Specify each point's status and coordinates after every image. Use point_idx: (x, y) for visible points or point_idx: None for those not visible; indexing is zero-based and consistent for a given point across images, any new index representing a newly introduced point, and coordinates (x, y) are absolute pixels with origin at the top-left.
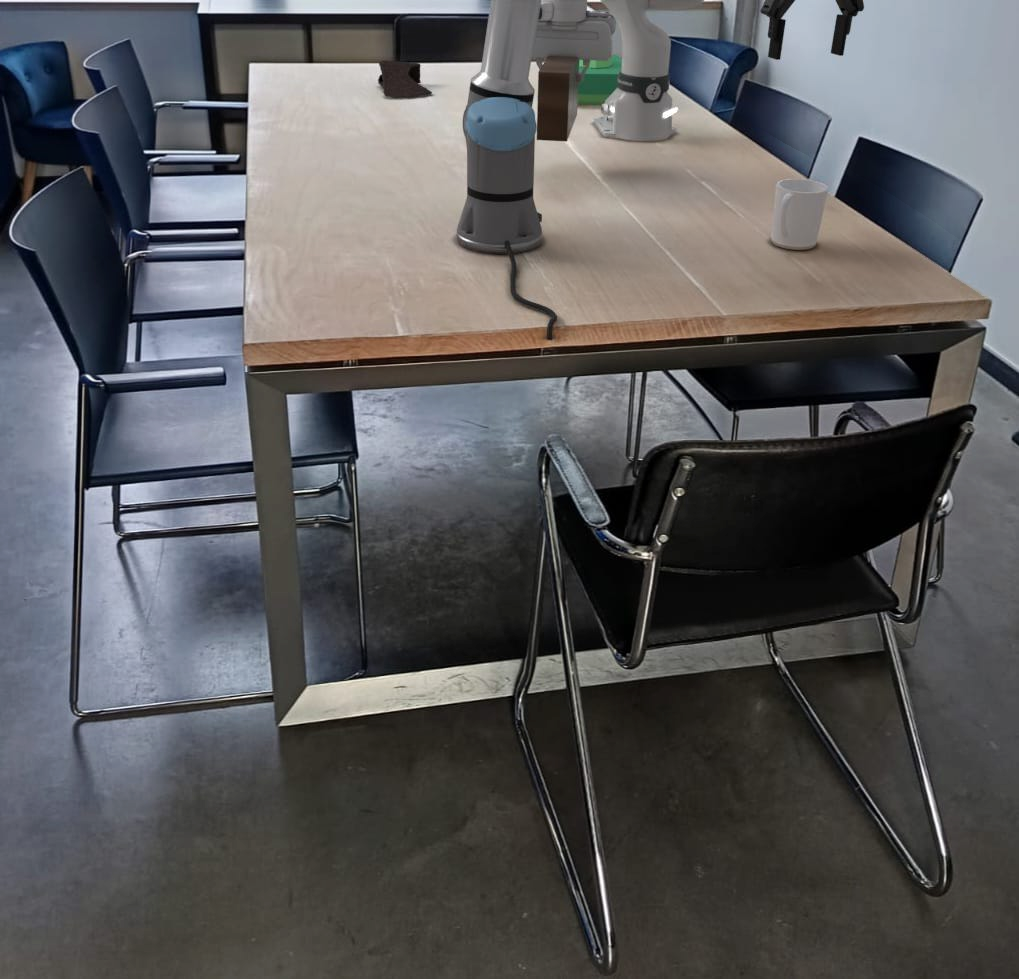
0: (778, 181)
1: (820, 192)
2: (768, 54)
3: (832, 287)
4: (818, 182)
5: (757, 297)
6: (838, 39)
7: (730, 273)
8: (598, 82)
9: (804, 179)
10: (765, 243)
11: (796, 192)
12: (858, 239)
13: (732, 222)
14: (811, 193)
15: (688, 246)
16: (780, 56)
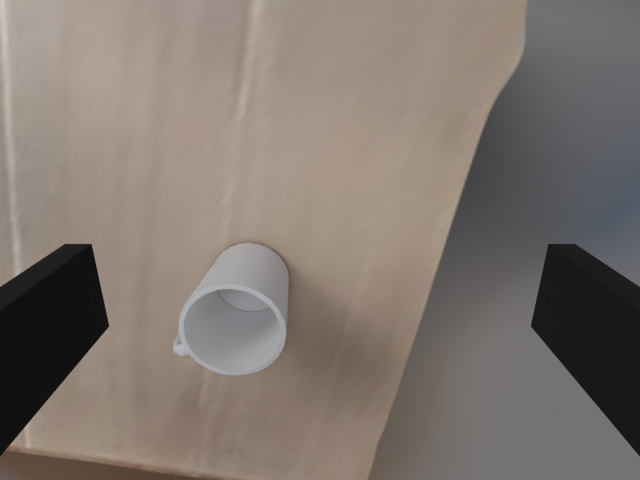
0: (197, 293)
1: (243, 374)
2: (57, 252)
3: (206, 423)
4: (280, 323)
5: (91, 420)
6: (588, 347)
7: None
8: None
9: (263, 298)
10: (206, 258)
11: (195, 360)
12: (372, 292)
13: (203, 138)
14: (222, 373)
15: (64, 229)
16: (99, 337)
